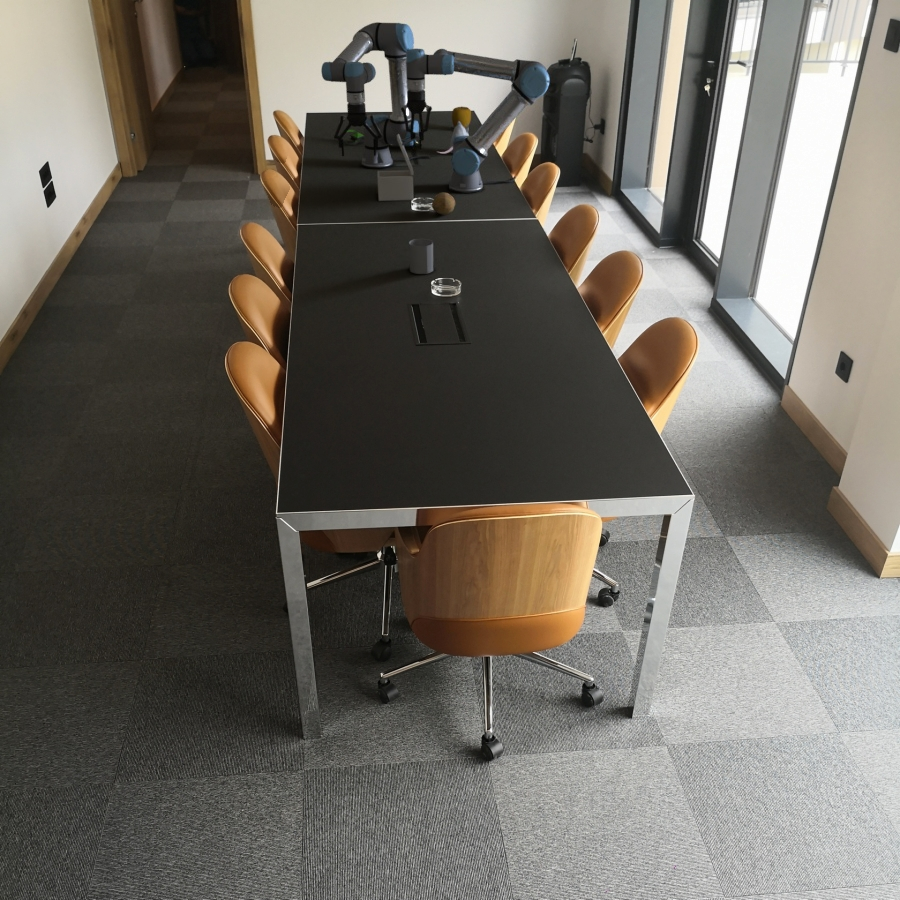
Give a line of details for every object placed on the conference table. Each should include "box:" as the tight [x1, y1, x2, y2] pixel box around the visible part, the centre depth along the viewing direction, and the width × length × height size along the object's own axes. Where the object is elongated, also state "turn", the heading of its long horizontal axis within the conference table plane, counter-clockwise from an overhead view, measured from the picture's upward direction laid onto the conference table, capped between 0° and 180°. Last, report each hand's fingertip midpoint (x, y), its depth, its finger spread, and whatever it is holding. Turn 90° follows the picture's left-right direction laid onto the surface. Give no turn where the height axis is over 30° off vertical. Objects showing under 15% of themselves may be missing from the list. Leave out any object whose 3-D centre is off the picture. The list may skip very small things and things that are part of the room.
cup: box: [408, 237, 434, 275], centre depth 305 cm, size 8×8×10 cm
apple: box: [451, 105, 472, 129], centre depth 487 cm, size 11×11×13 cm
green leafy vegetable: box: [343, 129, 364, 146], centre depth 465 cm, size 6×13×30 cm
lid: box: [397, 132, 420, 176], centre depth 373 cm, size 16×10×9 cm
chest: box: [376, 169, 414, 202], centre depth 380 cm, size 15×10×10 cm, turn 95°
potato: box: [431, 192, 456, 216], centre depth 360 cm, size 10×14×8 cm
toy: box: [437, 121, 470, 155], centre depth 440 cm, size 9×24×15 cm, turn 137°
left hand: (359, 155), depth 372 cm, fingers open, 13 cm apart
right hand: (417, 148), depth 372 cm, fingers closed on lid, 2 cm apart
